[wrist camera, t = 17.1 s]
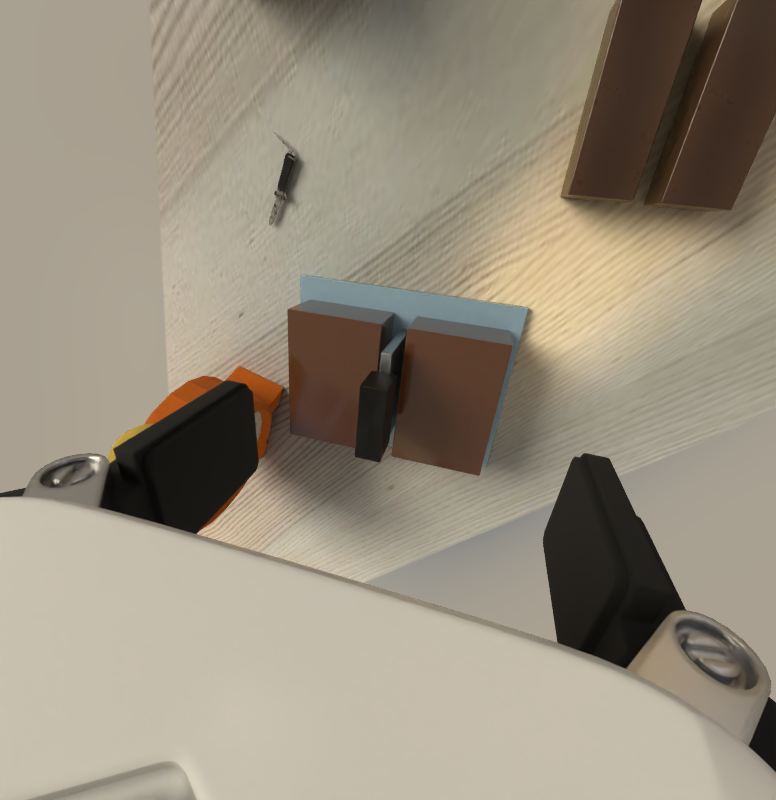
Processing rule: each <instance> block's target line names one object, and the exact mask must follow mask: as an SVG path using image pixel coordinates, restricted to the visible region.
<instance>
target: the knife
mask: <svg viewBox="0 0 776 800" xmlns="http://www.w3.org/2000/svg"><path fill="white" fill-rule="evenodd" d="M274 134H275V135H276V136H277V137H278V135H277V134H276V133H274ZM278 138H279V137H278ZM279 139H280V138H279ZM280 141H281V142H282V143H283V144H284V145H285V146H286V147H287V148H288V149H289V151H288V153H287V154H286V155H285V159H284V164H283V168H282V172H281V176H280V179H279V183H278V190H277V191H275V193H274V194H275V196H276V200H275V203H274V206H273V209H272V213H271V216H270V219H269V226H270V225H272V223H273V222H274V219H275V217H276V214H277V211H278V208H279V206H280V203H281V200H284V199H285V197H286V199H287V193H285V190H286V187H287V184H288V181H289V178H290V175H291V172H292V169H293V166H294V163H295V161H296V159H295V157H294V156H293V155H292V152H293V151H292V150H291V149H290V148H289V147H288V146H287V145H286V144H285V143H284V142H283V141H282V140H281V139H280ZM287 202H288V199H287Z"/></svg>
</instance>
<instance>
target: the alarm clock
mask: <svg viewBox="0 0 776 800" xmlns="http://www.w3.org/2000/svg"><path fill="white" fill-rule="evenodd" d="M227 380H230V381H235V382H240V383H244V384H246V385H247V386H248V388H249V389H250V390H252V392H253V400H254V411H255V423H256V435H257V447H258V459H260V458H262V457H264V455H265V452H266V448H267V445H268V443H266V441H267V439H268V436H269V432H270V427H271V422H272V412H273V411H274V410H275V408H276V407H277V405H278V404H279V402H280V398H281V395H282V391H283V387H281V386H279V385H277V384H275V383H273V382H271V381H269V380H267V379H265V378H263V377H261V376H259V375H256V374H254V373H252V372H250V371H248V370H246V369H244V368H242V367H240V366H239V367H238V368H237V369H236V370H235V371H234V372H233V373H232V374H231V375H230V376H229V377H228V378H227V379H226V380H225V381H227ZM223 382H224V381H222V380H220V379H218V378H216V377H208V376H202V377H199V378H197V379H194V380H191V381H188V382H187V383H185V384H184V385H182V386H181V387H180V388H178V389H177V390H175V391H174V392H172V393H171V394H170V395H169V396H168V397H167V398H166V399H165V400H164V401H163V402H162V403H161V404H160V405H159V406H158V407H157V408H156V409H155V410H154V411H153V412H152V414H151V415H150V417H149V418H148V419H147V421H146V422H145V424H144V425H141V426H138V427H135V428H133V429H131V430H128V431H127V432H125V433H124V434H123V435H121V436H120V437H119V438H118V439H117V440H116V442H115V443H114V444H113V446H112V447H111V450H110V453H109V457H108V460H109V463H111V462H112V461H114V460H115V459H116V457H115V454H114V450H113V448H115V447H117V446H118V445H120V444H122V443H123V442H125V441H127V440H128V439H130V438H132V437H133V436H135V435H137V434H138V433H140V432H142V431H143V430H145V429H146V428H148V427H150V426H151V425H153V424H155V423H156V422H158V421H160V420H161V419H163V418H165V417H166V416H168V415H170V414H171V413H173V412H175V411H176V410H178V409H180V408H181V407H183V406H184V405H186V404H188V403H189V402H191V401H193V400H194V399H196V398H198V397H199V396H201V395H203V394H204V393H206V392H208V391H209V390H211V389H213V388H214V387H216V386H218V385H219V384H221V383H223ZM246 482H247V481H246ZM246 482H245V483H246ZM245 483H244V484H243V485H242V486H241V487H240V488H239V489H238V490H237V491H236V493H235V494H234V495H233V496H232V497H231V498H230V499H229V500H228V501H227V502H226V503H225V504H224V505H223V506H222V507H221V508H220V509H219V511H218V512H217V513H216V514H215V515H214V516H213V517H212V518H211V519H210V520H209V521H208V522H207V523H206V524H205V525H204V526H203V527H202V529H203V528H204V527H206V526H207V525H209V524H210V523H212V522H213V521H214V520H215V519H216V518H217V517H218V516H219V515H220V514H221V513H222V512H223V511H224V510H225V509H226V508H227V507H228V506H229V505H230V503H231V502H232V501H233V500H234V499H235V497H236V496H237V495H238V493H239V492H240V491H241V489H242V488H243V486H244V485H245Z"/></svg>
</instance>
